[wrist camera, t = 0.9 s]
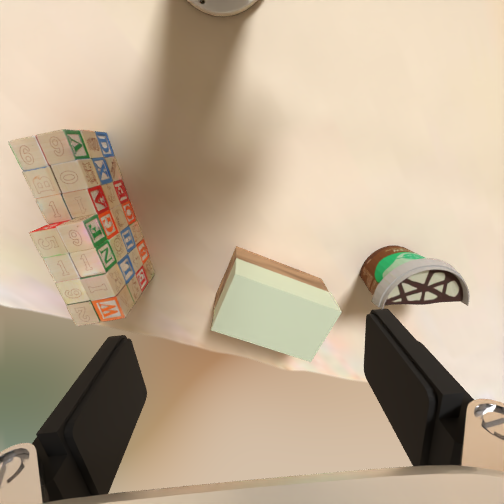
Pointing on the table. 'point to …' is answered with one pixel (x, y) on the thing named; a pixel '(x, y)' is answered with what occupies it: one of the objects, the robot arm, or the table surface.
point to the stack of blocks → (85, 223)
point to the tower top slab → (274, 311)
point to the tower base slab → (269, 265)
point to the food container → (411, 278)
